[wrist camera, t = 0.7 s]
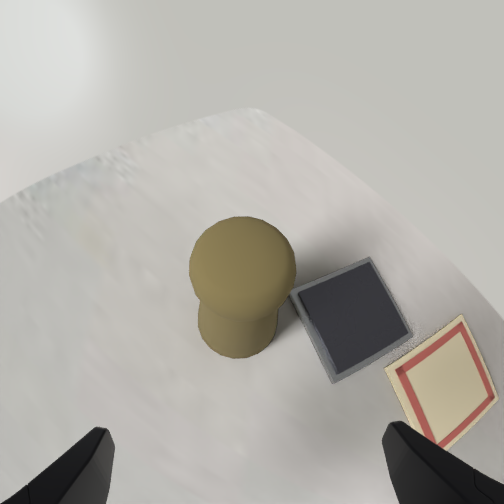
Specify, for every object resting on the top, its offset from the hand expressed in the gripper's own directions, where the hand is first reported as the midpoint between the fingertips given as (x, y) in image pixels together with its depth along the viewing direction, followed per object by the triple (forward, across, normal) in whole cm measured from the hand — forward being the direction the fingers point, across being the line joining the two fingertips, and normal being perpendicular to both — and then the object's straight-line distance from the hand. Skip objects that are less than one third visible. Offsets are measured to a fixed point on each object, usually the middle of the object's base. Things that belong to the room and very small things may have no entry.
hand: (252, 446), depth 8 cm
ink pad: (+15, -9, +4) cm, 18 cm away
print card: (+10, -18, +9) cm, 22 cm away
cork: (+15, 0, +4) cm, 16 cm away
